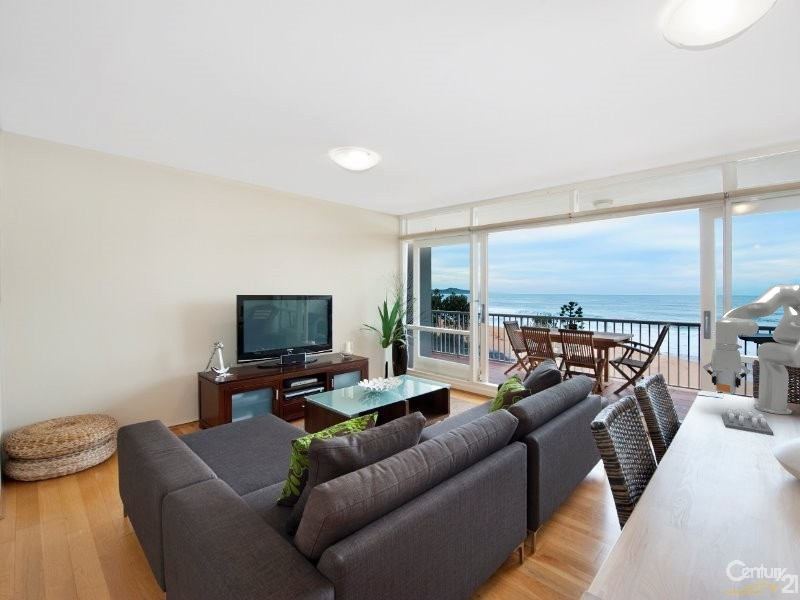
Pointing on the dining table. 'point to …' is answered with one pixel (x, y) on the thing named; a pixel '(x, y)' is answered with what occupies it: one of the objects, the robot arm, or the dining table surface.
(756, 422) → the peg board
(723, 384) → the skincare box
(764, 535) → the dining table surface
